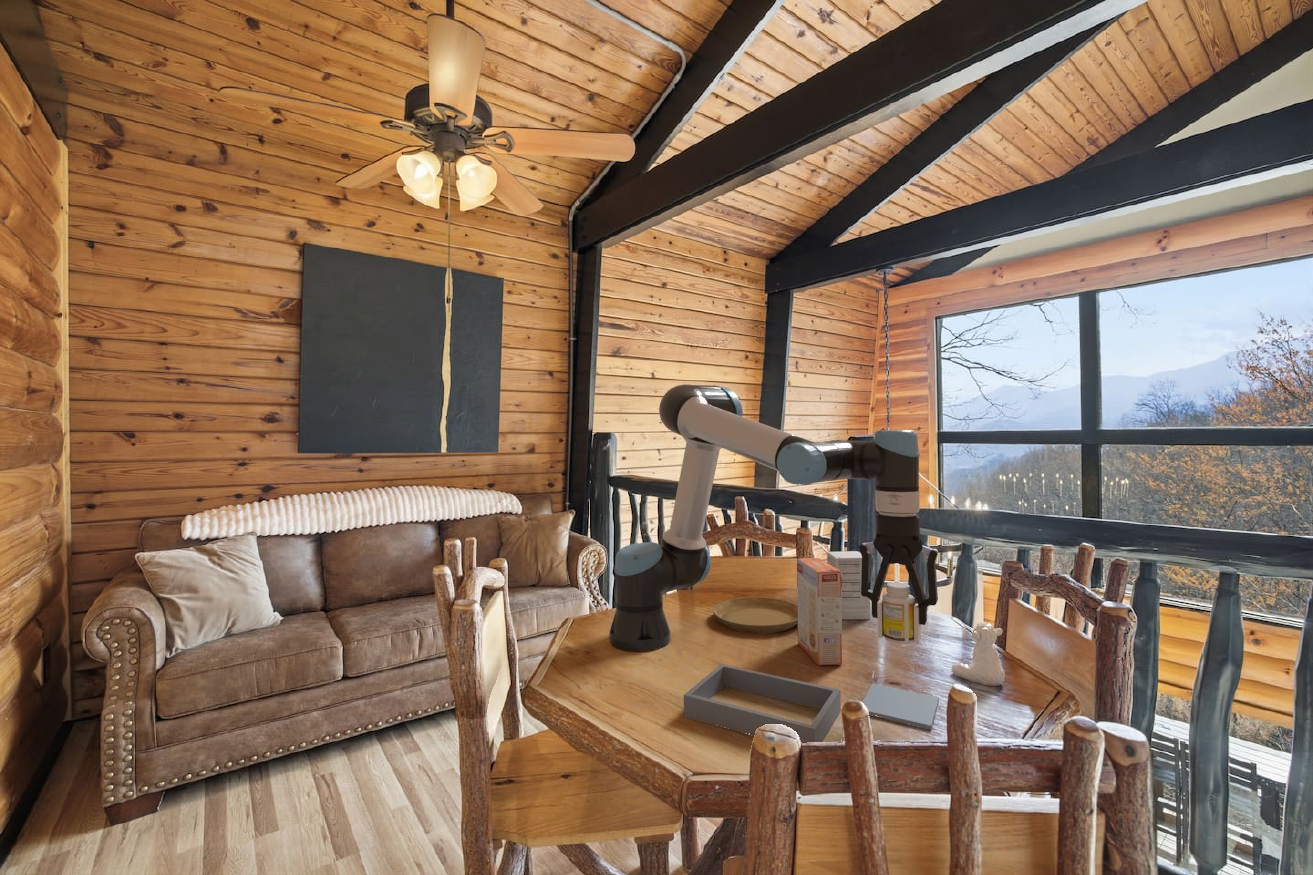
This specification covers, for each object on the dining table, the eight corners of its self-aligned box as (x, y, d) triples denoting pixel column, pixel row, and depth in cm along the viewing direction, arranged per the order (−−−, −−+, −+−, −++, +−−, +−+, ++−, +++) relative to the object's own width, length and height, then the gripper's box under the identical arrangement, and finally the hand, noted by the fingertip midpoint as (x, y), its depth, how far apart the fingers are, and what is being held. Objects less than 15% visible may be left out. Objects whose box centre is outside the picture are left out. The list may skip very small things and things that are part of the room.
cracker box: (844, 665, 126) (842, 570, 126) (817, 666, 125) (815, 571, 125) (821, 642, 140) (820, 556, 140) (797, 643, 139) (796, 557, 139)
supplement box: (871, 619, 155) (870, 557, 155) (837, 620, 156) (836, 558, 155) (859, 608, 165) (858, 550, 165) (827, 609, 165) (826, 550, 165)
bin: (683, 716, 105) (683, 694, 104) (721, 683, 118) (721, 663, 118) (815, 753, 92) (815, 729, 92) (840, 711, 106) (840, 689, 105)
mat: (858, 713, 105) (858, 708, 105) (872, 687, 115) (872, 683, 115) (931, 730, 98) (931, 725, 98) (938, 701, 109) (938, 697, 109)
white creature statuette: (990, 669, 123) (990, 613, 123) (1021, 687, 114) (1021, 627, 114) (949, 672, 121) (949, 616, 121) (978, 691, 113) (977, 630, 113)
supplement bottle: (907, 634, 109) (907, 580, 109) (920, 645, 104) (920, 588, 104) (878, 634, 109) (877, 581, 109) (889, 645, 104) (889, 589, 104)
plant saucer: (721, 639, 144) (721, 626, 144) (707, 609, 168) (707, 598, 168) (816, 635, 145) (816, 622, 145) (789, 606, 169) (789, 595, 169)
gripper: (841, 512, 108) (843, 635, 108) (951, 519, 98) (953, 654, 98) (850, 508, 114) (852, 624, 115) (955, 513, 105) (957, 640, 105)
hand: (899, 637), depth 107 cm, fingers closed on supplement bottle, 6 cm apart
